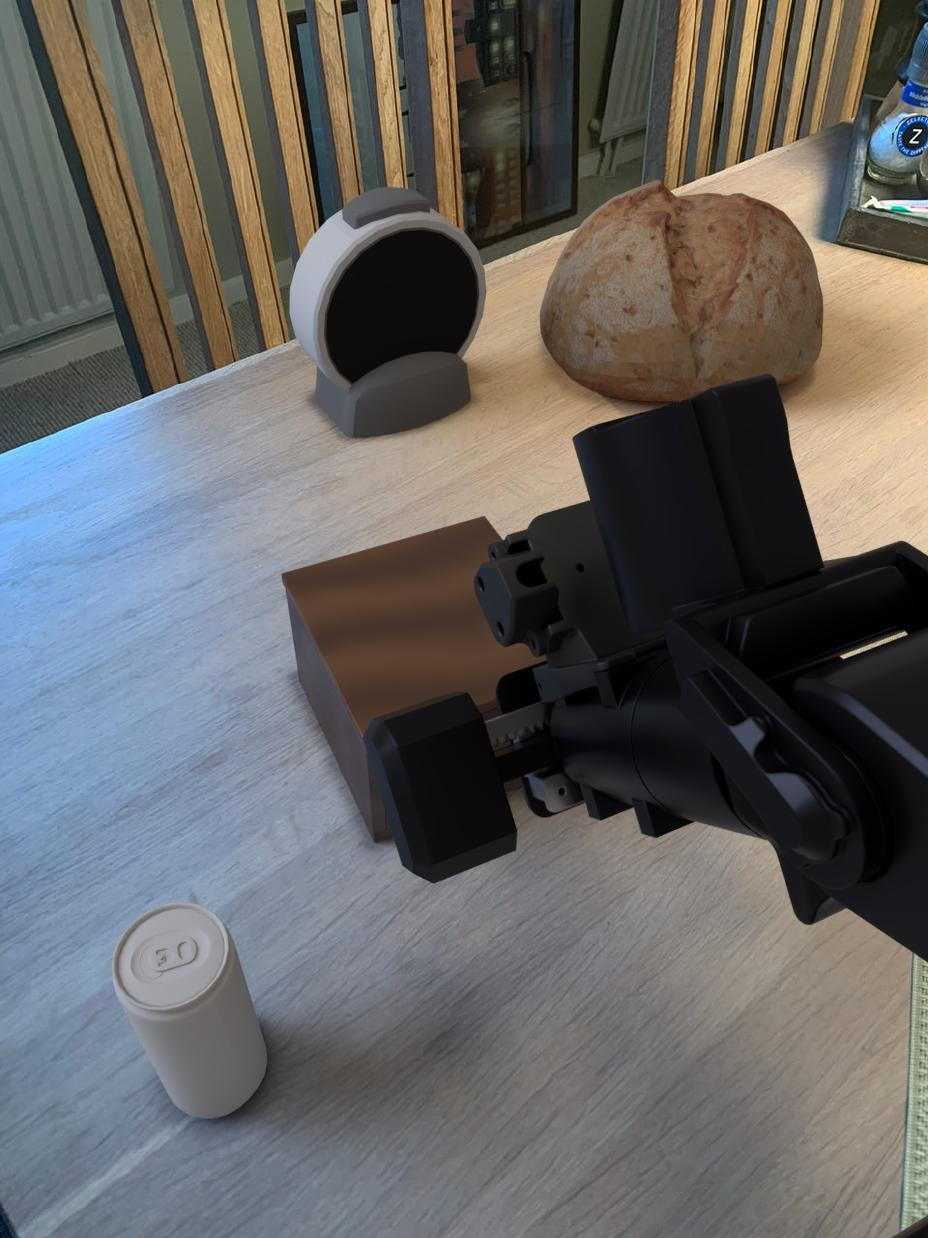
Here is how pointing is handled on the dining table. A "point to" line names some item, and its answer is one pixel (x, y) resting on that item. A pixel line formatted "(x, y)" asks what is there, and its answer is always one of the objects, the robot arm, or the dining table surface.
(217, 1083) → the beverage can
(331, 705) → the box
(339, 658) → the lid
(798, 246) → the bread
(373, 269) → the alarm clock
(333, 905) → the dining table surface
